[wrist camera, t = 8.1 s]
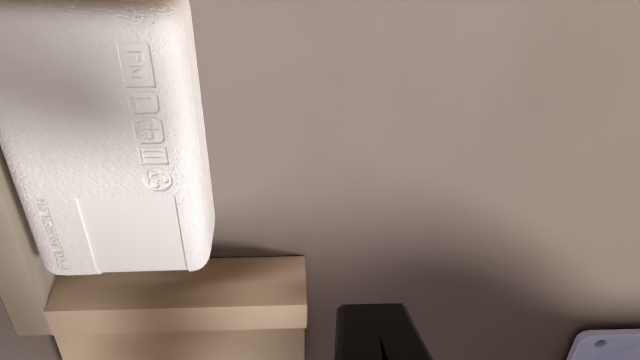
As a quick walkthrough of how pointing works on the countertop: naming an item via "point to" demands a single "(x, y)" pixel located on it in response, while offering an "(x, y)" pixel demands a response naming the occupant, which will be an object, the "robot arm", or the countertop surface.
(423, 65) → the countertop surface
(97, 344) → the soap dock
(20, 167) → the soap
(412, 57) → the countertop surface
